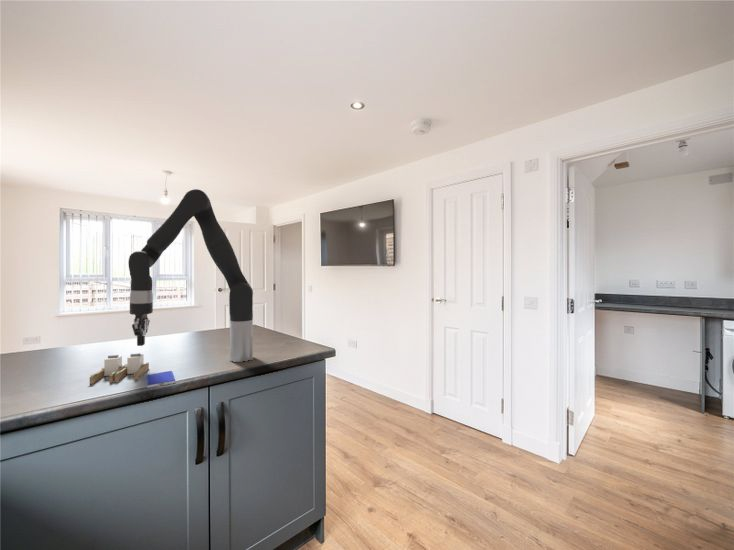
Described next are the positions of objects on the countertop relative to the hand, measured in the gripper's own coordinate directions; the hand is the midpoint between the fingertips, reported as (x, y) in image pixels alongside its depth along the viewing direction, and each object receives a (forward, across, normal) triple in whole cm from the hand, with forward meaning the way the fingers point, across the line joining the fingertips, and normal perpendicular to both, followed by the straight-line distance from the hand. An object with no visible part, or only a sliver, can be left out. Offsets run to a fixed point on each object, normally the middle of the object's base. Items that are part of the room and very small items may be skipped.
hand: (140, 345), depth 128 cm
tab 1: (+9, -7, +7) cm, 13 cm away
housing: (+9, -10, +7) cm, 15 cm away
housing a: (+9, -10, 0) cm, 13 cm away
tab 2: (+9, -7, 0) cm, 11 cm away
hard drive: (+10, -19, -11) cm, 24 cm away
